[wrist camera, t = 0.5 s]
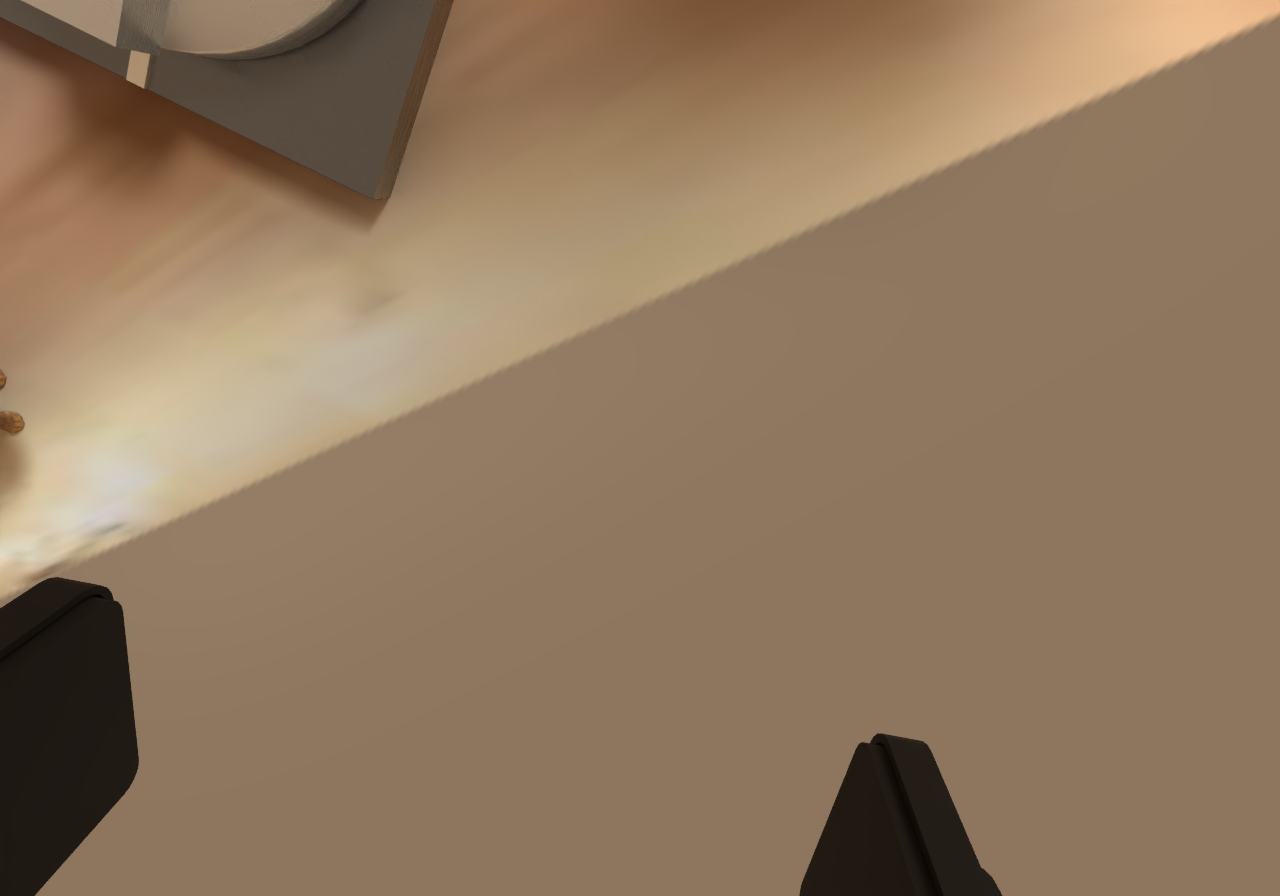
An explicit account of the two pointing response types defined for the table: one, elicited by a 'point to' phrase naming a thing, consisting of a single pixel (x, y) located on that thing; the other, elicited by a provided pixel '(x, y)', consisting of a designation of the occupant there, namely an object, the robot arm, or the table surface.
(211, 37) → the silver hub plate
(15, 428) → the lion figurine
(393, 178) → the grey square base plate
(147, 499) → the table surface
